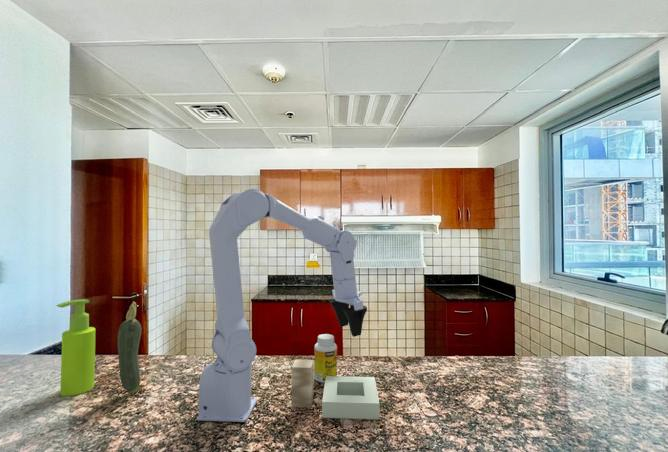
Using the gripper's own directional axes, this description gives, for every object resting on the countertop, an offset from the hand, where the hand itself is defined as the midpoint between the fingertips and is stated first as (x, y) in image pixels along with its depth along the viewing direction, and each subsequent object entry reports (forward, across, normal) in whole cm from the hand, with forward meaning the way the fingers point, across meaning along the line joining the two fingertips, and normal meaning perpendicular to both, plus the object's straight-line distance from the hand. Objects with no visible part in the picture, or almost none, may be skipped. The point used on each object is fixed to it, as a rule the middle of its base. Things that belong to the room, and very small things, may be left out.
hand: (350, 330), depth 80 cm
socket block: (+9, -13, +7) cm, 18 cm away
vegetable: (+4, +8, +51) cm, 51 cm away
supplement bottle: (+10, -1, +8) cm, 13 cm away
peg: (+8, -9, +16) cm, 20 cm away
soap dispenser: (+3, +14, +62) cm, 64 cm away
